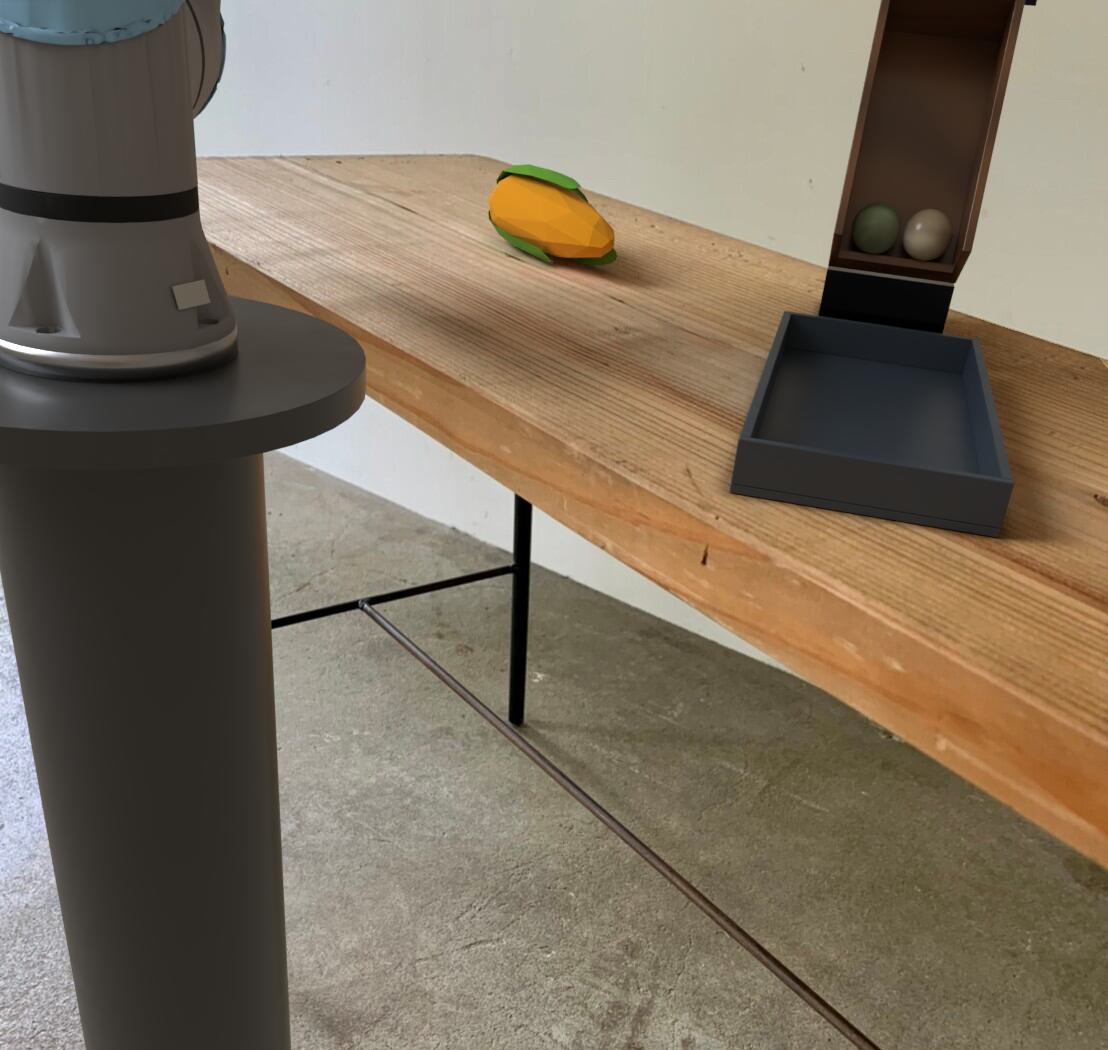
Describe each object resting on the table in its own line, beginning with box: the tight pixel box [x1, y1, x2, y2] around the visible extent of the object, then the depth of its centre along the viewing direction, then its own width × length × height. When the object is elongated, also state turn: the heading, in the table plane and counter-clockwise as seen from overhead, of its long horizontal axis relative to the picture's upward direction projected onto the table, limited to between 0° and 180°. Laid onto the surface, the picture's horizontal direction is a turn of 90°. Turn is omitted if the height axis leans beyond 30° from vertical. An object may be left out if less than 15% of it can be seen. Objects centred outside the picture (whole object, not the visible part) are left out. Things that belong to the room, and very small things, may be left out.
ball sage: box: [851, 202, 901, 254], centre depth 86 cm, size 3×3×3 cm
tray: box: [729, 310, 1015, 538], centre depth 76 cm, size 31×14×3 cm, turn 166°
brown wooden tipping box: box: [827, 0, 1025, 284], centre depth 83 cm, size 21×9×8 cm
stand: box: [817, 265, 955, 334], centre depth 97 cm, size 17×9×6 cm, turn 166°
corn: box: [488, 163, 618, 266], centre depth 110 cm, size 7×8×20 cm
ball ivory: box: [902, 209, 953, 261], centre depth 85 cm, size 3×3×3 cm
